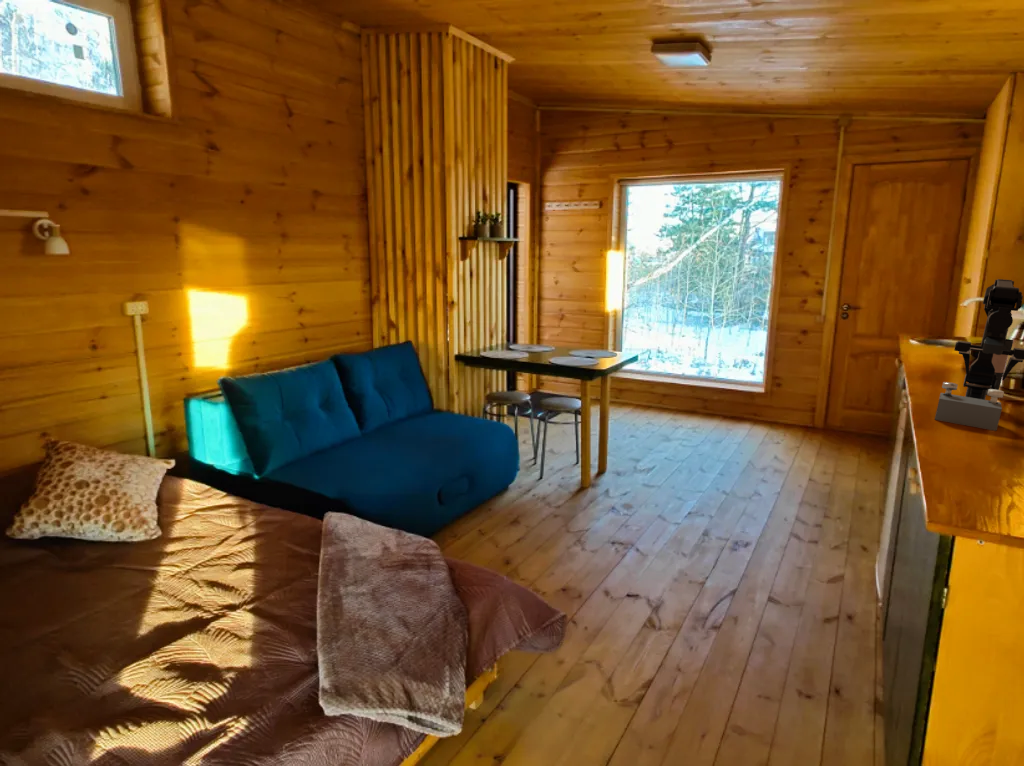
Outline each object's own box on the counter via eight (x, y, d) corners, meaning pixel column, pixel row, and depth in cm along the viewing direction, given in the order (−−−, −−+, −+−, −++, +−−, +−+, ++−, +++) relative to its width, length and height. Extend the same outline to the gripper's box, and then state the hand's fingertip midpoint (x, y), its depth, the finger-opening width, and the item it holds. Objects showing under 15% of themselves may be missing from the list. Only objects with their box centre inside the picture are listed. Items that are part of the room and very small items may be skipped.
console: (936, 413, 212) (940, 392, 211) (995, 423, 204) (1000, 402, 202) (934, 419, 204) (939, 398, 203) (996, 430, 196) (1001, 408, 194)
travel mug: (1002, 395, 242) (1015, 343, 237) (979, 393, 243) (992, 341, 238) (992, 390, 249) (1004, 340, 244) (970, 388, 250) (982, 338, 246)
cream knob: (985, 400, 204) (988, 388, 203) (1000, 403, 202) (1003, 390, 201) (985, 403, 201) (988, 390, 200) (1001, 405, 198) (1004, 393, 197)
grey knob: (940, 393, 210) (943, 381, 209) (955, 395, 208) (957, 383, 207) (940, 395, 207) (942, 383, 206) (954, 398, 205) (957, 385, 204)
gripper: (960, 325, 195) (948, 375, 199) (1037, 334, 185) (1024, 387, 189) (960, 323, 204) (949, 370, 208) (1034, 331, 194) (1021, 381, 198)
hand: (984, 377), depth 200 cm, fingers open, 9 cm apart
